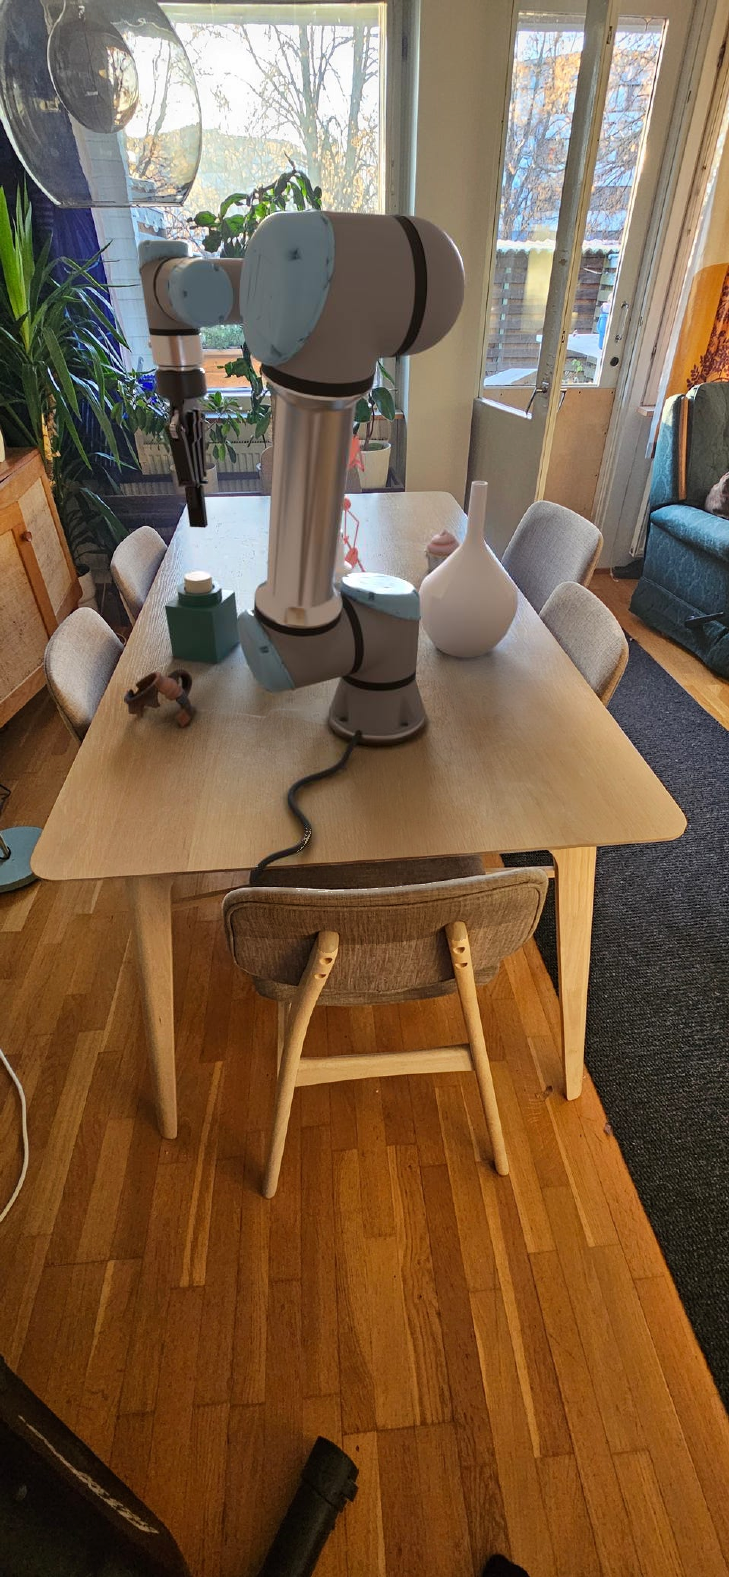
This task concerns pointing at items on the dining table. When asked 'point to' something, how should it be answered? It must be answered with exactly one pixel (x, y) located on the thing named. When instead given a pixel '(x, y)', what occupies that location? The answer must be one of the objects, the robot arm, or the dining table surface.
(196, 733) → the dining table surface
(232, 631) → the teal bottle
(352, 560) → the figurine
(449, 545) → the cupcake
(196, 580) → the beige cylinder
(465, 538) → the vase
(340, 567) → the white bottle
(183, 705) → the brown jagged looped figure
